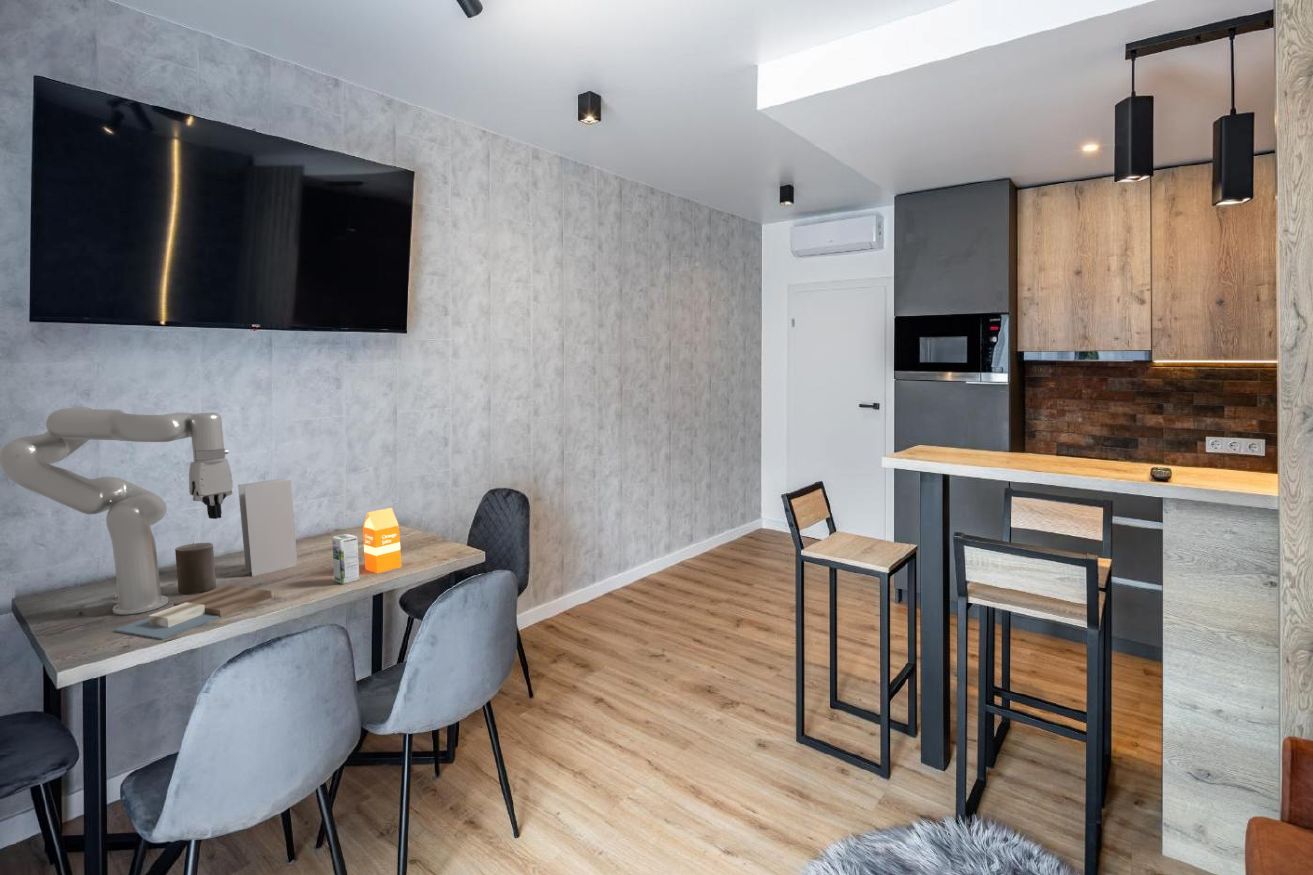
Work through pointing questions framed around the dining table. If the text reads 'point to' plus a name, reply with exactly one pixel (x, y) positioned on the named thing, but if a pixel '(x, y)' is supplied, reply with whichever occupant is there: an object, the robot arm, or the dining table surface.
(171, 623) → the tile
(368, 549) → the orange juice
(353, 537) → the syrup box
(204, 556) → the pillar candle
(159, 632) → the mat
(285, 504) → the tall grey block
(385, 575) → the dining table surface
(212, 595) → the board
